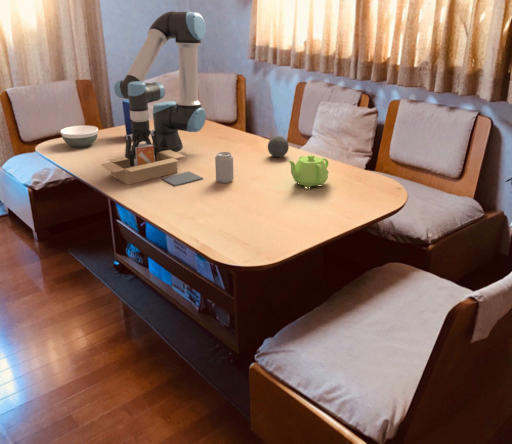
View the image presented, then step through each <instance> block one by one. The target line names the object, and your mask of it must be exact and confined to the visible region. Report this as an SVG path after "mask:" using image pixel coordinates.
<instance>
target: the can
mask: <svg viewBox="0 0 512 444" xmlns="http://www.w3.org/2000/svg"><path fill="white" fill-rule="evenodd" d="M214 159H215V161H214V162H215V180H216V181H217V182H218V183H221V184H229V183H231V182H233V180H234V177H235V175H234V156H233V155H232V153H231V152H229V151H220V152H217V153H216V156H215V158H214Z"/></svg>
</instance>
